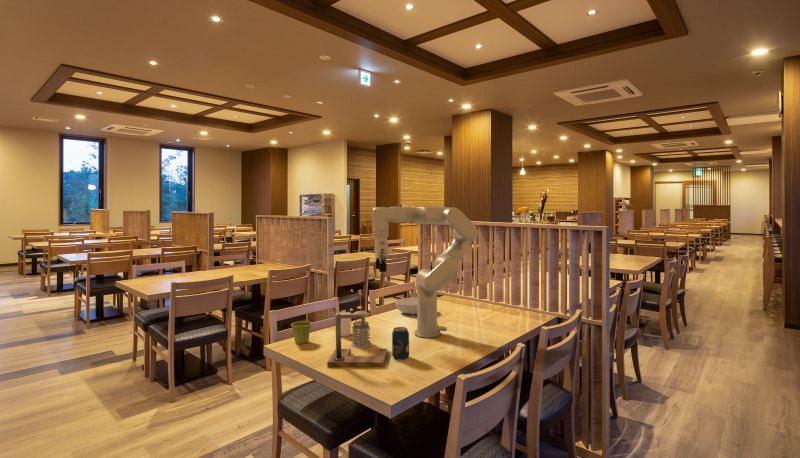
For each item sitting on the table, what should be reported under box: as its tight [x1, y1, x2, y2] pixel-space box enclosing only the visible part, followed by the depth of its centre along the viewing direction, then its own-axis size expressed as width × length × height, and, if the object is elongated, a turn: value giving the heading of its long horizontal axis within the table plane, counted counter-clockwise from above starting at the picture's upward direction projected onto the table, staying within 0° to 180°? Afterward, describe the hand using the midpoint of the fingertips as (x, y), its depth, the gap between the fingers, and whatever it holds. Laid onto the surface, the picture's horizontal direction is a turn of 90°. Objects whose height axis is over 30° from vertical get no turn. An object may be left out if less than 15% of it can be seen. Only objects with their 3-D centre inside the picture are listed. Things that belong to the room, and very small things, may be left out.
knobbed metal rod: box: [334, 313, 366, 361], centre depth 171 cm, size 13×4×18 cm, turn 87°
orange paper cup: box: [335, 311, 352, 337], centre depth 212 cm, size 8×8×10 cm
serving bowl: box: [395, 297, 417, 316], centre depth 253 cm, size 21×21×7 cm
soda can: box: [391, 326, 410, 361], centre depth 178 cm, size 7×7×12 cm
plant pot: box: [290, 320, 313, 345], centre depth 201 cm, size 9×9×9 cm
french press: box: [350, 289, 373, 349], centre depth 194 cm, size 10×12×25 cm
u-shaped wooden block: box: [326, 348, 388, 368], centre depth 176 cm, size 22×16×2 cm
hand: (380, 270), depth 202 cm, fingers open, 9 cm apart
